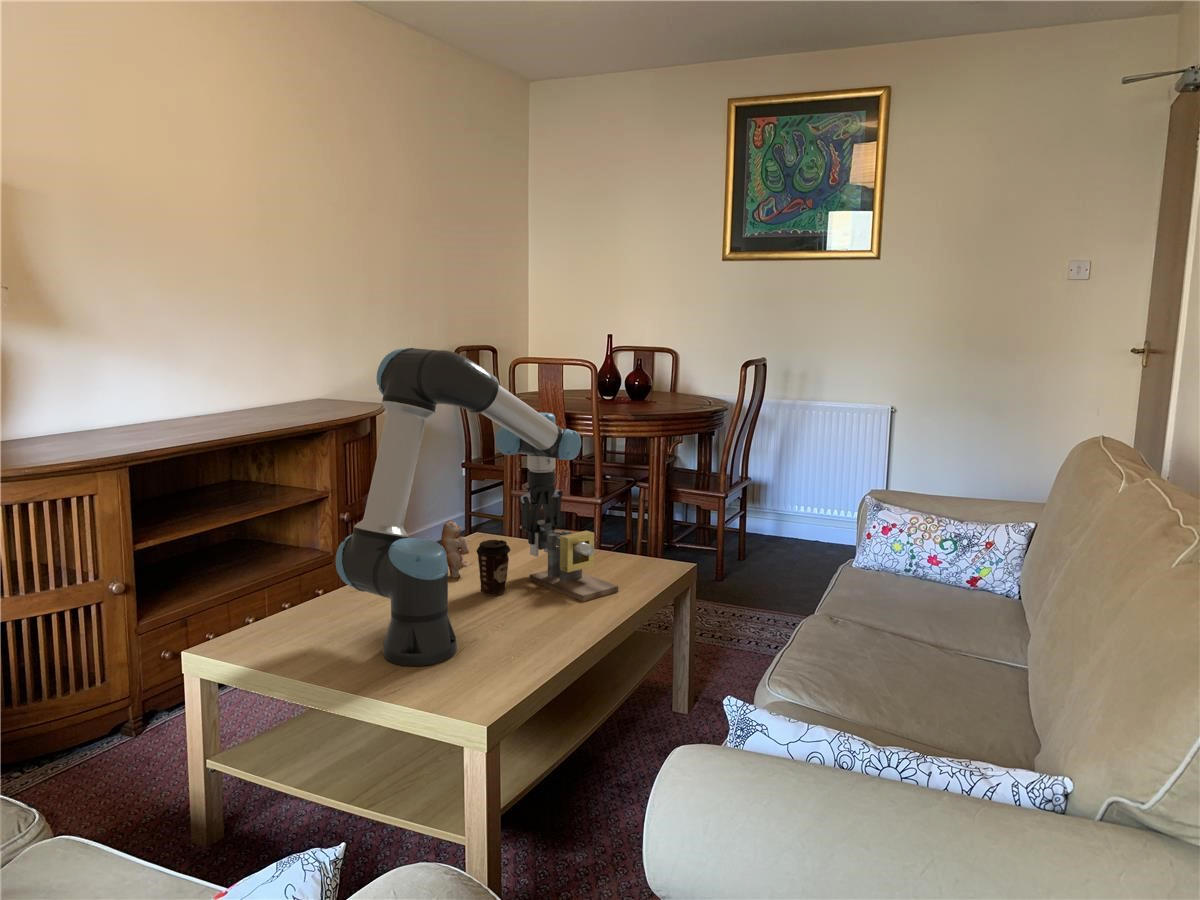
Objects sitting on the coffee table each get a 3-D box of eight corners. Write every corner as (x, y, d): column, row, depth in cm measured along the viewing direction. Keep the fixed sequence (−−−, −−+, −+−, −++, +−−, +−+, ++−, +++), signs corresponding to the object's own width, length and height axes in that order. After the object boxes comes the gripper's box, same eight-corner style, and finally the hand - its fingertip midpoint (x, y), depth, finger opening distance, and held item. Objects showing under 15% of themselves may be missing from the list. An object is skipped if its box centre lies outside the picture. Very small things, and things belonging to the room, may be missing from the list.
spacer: (567, 572, 216) (567, 538, 214) (560, 569, 218) (560, 536, 216) (593, 565, 222) (594, 532, 220) (586, 563, 224) (586, 530, 222)
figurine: (467, 579, 226) (467, 524, 224) (439, 578, 226) (438, 524, 224) (471, 572, 232) (471, 519, 230) (444, 571, 232) (443, 518, 230)
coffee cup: (513, 587, 219) (513, 539, 217) (507, 598, 211) (507, 548, 209) (481, 586, 220) (480, 538, 218) (473, 596, 212) (472, 546, 210)
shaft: (583, 565, 215) (583, 538, 214) (530, 546, 231) (531, 521, 230) (595, 562, 217) (595, 536, 216) (542, 544, 233) (542, 519, 232)
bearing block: (583, 601, 210) (583, 551, 208) (529, 580, 226) (529, 533, 224) (618, 591, 218) (619, 542, 216) (564, 571, 234) (564, 526, 232)
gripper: (524, 475, 219) (524, 562, 223) (574, 468, 230) (573, 551, 234) (507, 471, 224) (507, 556, 228) (557, 464, 236) (556, 545, 239)
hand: (541, 553), depth 231 cm, fingers closed on shaft, 4 cm apart
